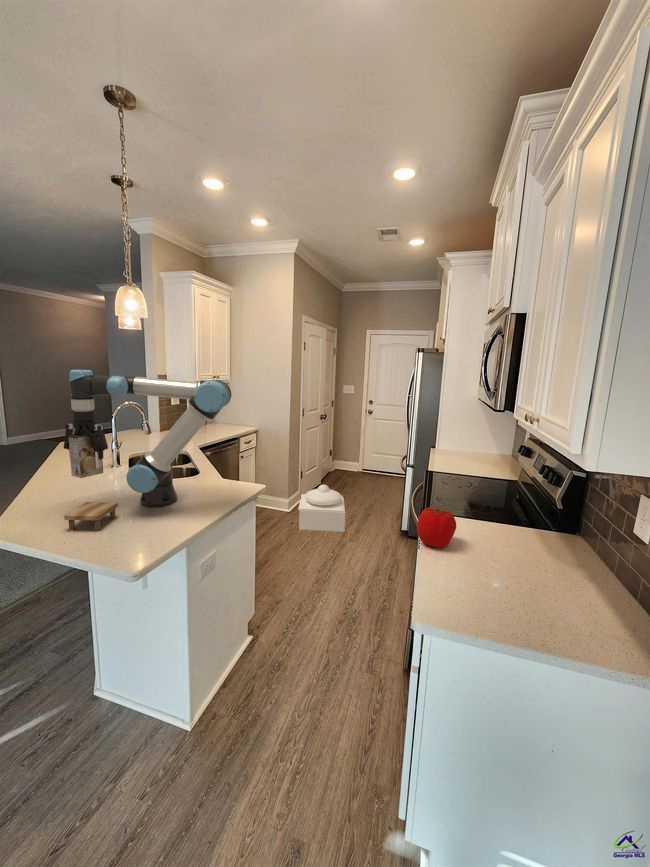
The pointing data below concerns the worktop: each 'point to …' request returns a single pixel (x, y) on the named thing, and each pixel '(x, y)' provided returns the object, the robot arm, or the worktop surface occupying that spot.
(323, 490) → the white lidded dish
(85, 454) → the coffee box
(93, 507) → the stool
